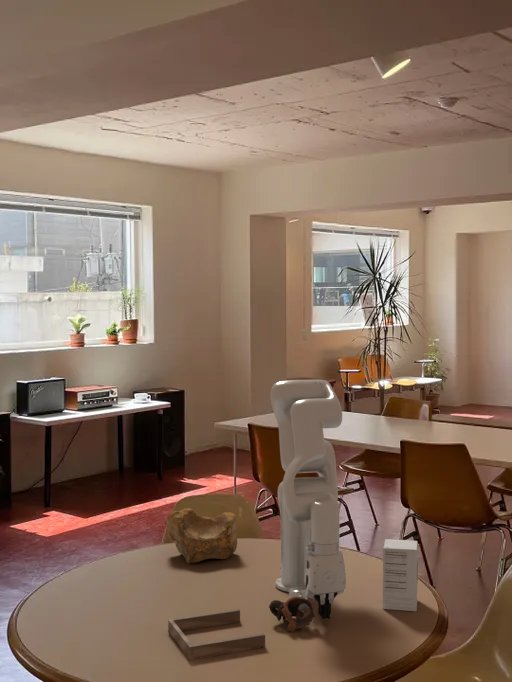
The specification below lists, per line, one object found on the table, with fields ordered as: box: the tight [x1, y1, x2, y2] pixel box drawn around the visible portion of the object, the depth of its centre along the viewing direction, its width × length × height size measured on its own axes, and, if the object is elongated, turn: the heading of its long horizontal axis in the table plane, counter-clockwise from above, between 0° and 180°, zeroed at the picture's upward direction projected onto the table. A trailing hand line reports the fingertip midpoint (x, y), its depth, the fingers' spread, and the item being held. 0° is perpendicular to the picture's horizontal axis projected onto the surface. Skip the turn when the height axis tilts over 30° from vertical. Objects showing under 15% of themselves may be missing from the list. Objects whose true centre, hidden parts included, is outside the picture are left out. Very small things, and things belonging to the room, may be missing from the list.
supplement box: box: [382, 538, 419, 612], centre depth 230 cm, size 10×9×17 cm
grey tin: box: [288, 587, 309, 612], centre depth 228 cm, size 5×5×5 cm
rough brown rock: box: [166, 507, 238, 565], centre depth 270 cm, size 23×17×15 cm
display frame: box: [167, 608, 266, 661], centre depth 207 cm, size 18×19×3 cm
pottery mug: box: [268, 597, 316, 633], centre depth 216 cm, size 12×10×8 cm
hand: (324, 617), depth 218 cm, fingers closed
